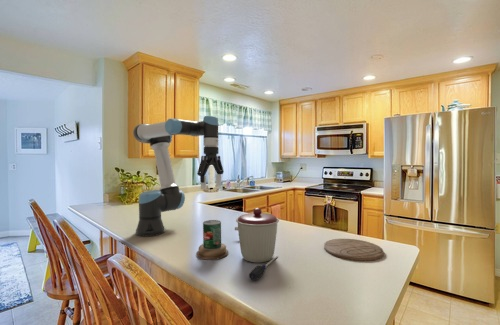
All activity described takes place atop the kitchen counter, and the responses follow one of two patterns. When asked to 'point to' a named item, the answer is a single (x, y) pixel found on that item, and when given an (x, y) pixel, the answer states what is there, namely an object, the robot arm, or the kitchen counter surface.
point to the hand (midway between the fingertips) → (211, 187)
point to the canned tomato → (212, 234)
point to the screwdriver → (259, 271)
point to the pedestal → (212, 253)
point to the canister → (257, 235)
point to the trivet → (353, 249)
